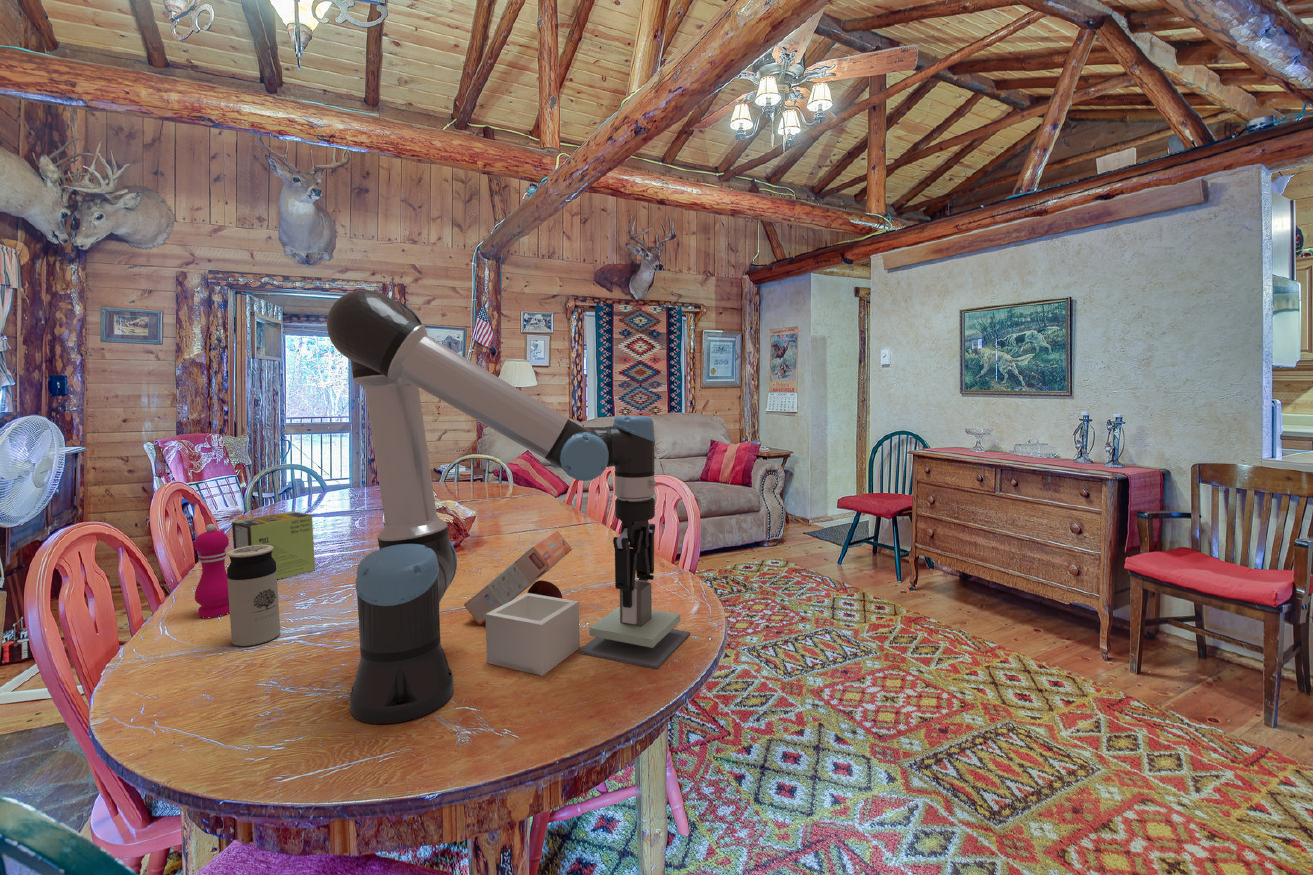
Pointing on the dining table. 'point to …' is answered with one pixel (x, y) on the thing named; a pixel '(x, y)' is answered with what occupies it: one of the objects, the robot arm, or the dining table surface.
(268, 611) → the travel mug
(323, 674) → the dining table surface
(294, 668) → the dining table surface
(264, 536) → the protein box
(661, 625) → the lid
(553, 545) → the cracker box
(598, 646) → the mat
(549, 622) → the storage box
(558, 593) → the apple
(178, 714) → the dining table surface
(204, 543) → the pepper mill
